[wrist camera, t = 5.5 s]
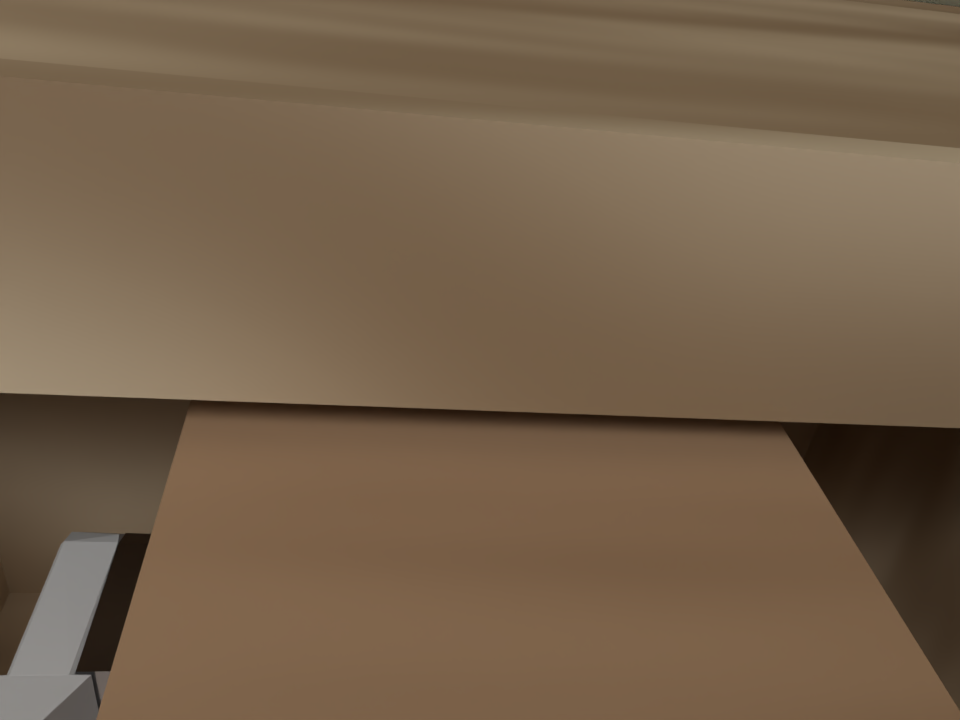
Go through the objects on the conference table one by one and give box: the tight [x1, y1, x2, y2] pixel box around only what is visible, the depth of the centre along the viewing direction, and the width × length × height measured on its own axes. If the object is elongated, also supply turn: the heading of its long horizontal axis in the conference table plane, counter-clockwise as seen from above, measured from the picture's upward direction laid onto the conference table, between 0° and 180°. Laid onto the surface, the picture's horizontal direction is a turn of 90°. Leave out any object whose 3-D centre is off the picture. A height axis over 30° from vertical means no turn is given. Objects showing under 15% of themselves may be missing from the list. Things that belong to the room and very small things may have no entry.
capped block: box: [96, 400, 960, 720], centre depth 9 cm, size 6×4×8 cm
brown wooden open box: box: [0, 0, 960, 711], centre depth 11 cm, size 12×15×6 cm
